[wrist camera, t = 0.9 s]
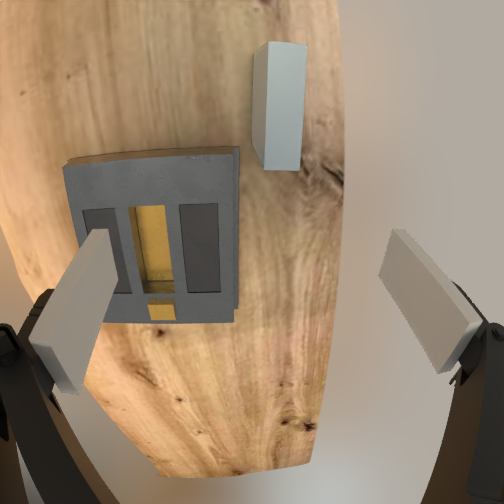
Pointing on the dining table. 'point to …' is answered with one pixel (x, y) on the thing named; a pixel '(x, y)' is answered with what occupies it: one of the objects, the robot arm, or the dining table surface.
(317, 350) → the dining table surface
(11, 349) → the robot arm
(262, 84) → the panel
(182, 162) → the panel
